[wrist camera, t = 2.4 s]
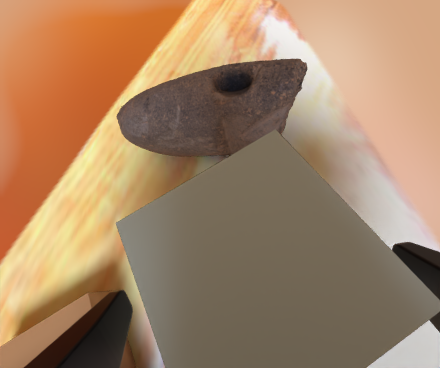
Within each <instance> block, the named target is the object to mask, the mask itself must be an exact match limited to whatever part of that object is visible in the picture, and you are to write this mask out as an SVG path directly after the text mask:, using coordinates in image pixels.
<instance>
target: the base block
mask: <svg viewBox="0 0 440 368" xmlns="http://www.w3.org/2000/svg"><path fill="white" fill-rule="evenodd" d="M110 292H111V291H103V292H89V293H86V294H85V295H83V296H82V297H80V298H78V299H77V300H75V301H73V302H72V303H70V304H69V305H67V306H65V307H64V308H62V309H61V310H59V311H57V312H56V313H54V314H52V315H51V316H49V317H48V318H46V319H44V320H43V321H41V322H39V323H38V324H36V325H35V326H33V327H31V328H30V329H28V330H26V331H25V332H23V333H22V334H20V335H18V336H17V337H15V338H14V339H12V340H10V341H9V342H7V343H5V344H4V345H2V346H1V347H0V368H24V367H25V366H26V365H27V364H28V363H29V362H31V361H32V360H33V359H34V358H35V357H36V356H37V355H39V354H40V353H41V352H42V351H43V350H44V349H45V348H47V347H48V346H49V345H50V344H51V343H52V342H53V341H55V340H56V339H57V338H58V337H59V336H60V335H61V334H63V333H64V332H65V331H66V330H67V329H68V328H70V327H71V326H72V325H73V324H74V323H75V322H76V321H78V320H79V319H80V318H81V317H82V316H83V315H84V314H86V313H87V312H88V311H89V310H90V309H91V308H92V307H94V306H95V305H96V304H97V303H98V302H99V301H100V300H102V299H103V298H104V297H105V296H106V295H107V294H108V293H110ZM120 368H136V365H135V362H134V358H133V355H132V352H131V348H130V345H129V341H128V338H127V340H126V344H125V349H124V353H123V357H122V361H121V365H120Z"/></svg>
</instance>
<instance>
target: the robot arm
mask: <svg viewBox="0 0 440 368" xmlns="http://www.w3.org/2000/svg"><path fill="white" fill-rule="evenodd" d="M392 251H393V252H394V253H395V254H396V255H397V256H398V257H399V258H400V259H401V261H402V262H403V263H404V264H405V265H406V266H407V267H408V268H409V269H410V270H411V271H412V272H413V273H414V274H415V275H416V276H417V277H418V278H419V279H420V280H421V281H422V282H423V283H424V284H425V286H426V287H427V288H428V289H429V290H430V291H431V292H432V293H433V294H434V295H435V296H436V297H437V298H438V299H439V300H440V252H438V251H435V250H432V249H429V248H426V247H423V246H420V245H417V244H414V243H411V242H403V243H397V244H394V246H393V248H392ZM132 312H133V309H132V305H131V303H130V301H129V299H128V297H127V294H126V292H125V291H124V290H116V291H111V292H110V293H108V294H107V295H106V296H105V297H104V298H103V299H102V300H100V301H99V302H98V303H97V304H96V305H95V306H94V307H92V308H91V309H90V310H89V311H88V312H87V313H86V314H84V315H83V316H82V317H81V318H80V319H79V320H78V321H76V322H75V323H74V324H73V325H72V326H71V327H70V328H68V329H67V330H66V331H65V332H64V333H63V334H61V335H60V336H59V337H58V338H57V339H56V340H55V341H53V342H52V343H51V344H50V345H49V346H48V347H47V348H45V349H44V350H43V351H42V352H41V353H40V354H39V355H37V356H36V357H35V358H34V359H33V360H32V361H31V362H29V363H28V364H27V365H26V366H25V367H24V368H120V365H121V361H122V357H123V353H124V349H125V344H126V340H127V335H128V331H129V327H130V322H131V318H132ZM429 320H430V321H431V323H432V324H433V325H434V326H435V327H436V329H437V330H438V331H439V332H440V312H439V313H437V314H436V315H435V316H433V317H432V318H431V319H429Z"/></svg>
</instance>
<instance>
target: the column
mask: <svg viewBox="0 0 440 368" xmlns="http://www.w3.org/2000/svg"><path fill="white" fill-rule="evenodd" d="M116 225H117V228H118V231H119V234H120V237H121V240H122V243H123V246H124V249H125V252H126V255H127V257H128V260H129V263H130V266H131V269H132V272H133V275H134V278H135V281H136V284H137V287H138V289H139V292H140V295H141V298H142V301H143V304H144V307H145V310H146V313H147V316H148V319H149V321H150V324H151V327H152V330H153V333H154V336H155V339H156V342H157V345H158V348H159V351H160V353H161V356H162V359H163V362H164V365H165V368H366V367H368V366H369V365H370V364H372V363H373V362H374V361H376V360H377V359H378V358H379V357H381V356H382V355H383V354H385V353H386V352H387V351H389V350H390V349H391V348H393V347H394V346H395V345H397V344H398V343H399V342H400V341H402V340H403V339H404V338H406V337H407V336H408V335H410V334H411V333H412V332H414V331H415V330H416V329H418V328H419V327H420V326H421V325H423V324H424V323H425V322H427V321H428V320H429V319H431V318H432V317H433V316H435V315H436V314H437V313H439V312H440V300H439V299H438V298H437V297H436V296H435V295H434V294H433V293H432V292H431V291H430V290H429V289H428V288H427V287H426V286H425V284H424V283H423V282H422V281H421V280H420V279H419V278H418V277H417V276H416V275H415V274H414V273H413V272H412V271H411V270H410V269H409V268H408V267H407V266H406V265H405V264H404V263H403V262H402V261H401V259H400V258H399V257H398V256H397V255H396V254H395V253H394V252H393V251H392V250H391V249H390V248H389V247H388V246H387V245H386V244H385V243H384V242H383V241H382V240H381V239H380V238H379V237H378V236H377V234H376V233H375V232H374V231H373V230H372V229H371V228H370V227H369V226H368V225H367V224H366V223H365V222H364V221H363V220H362V219H361V218H360V217H359V216H358V215H357V214H356V213H355V212H354V211H353V209H352V208H351V207H350V206H349V205H348V204H347V203H346V202H345V201H344V200H343V199H342V198H341V197H340V196H339V195H338V194H337V193H336V192H335V191H334V190H333V189H332V188H331V187H330V186H329V184H328V183H327V182H326V181H325V180H324V179H323V178H322V177H321V176H320V175H319V174H318V173H317V172H316V171H315V170H314V169H313V168H312V167H311V166H310V165H309V164H308V163H307V162H306V161H305V159H304V158H303V157H302V156H301V155H300V154H299V153H298V152H297V151H296V150H295V149H294V148H293V147H292V146H291V145H290V144H289V143H288V142H287V141H286V140H285V139H284V138H283V137H282V136H281V134H280V133H279V132H278V131H277V130H276V129H275V130H273V131H272V132H270V133H268V134H267V135H265V136H263V137H261V138H260V139H258V140H256V141H255V142H253V143H251V144H249V145H248V146H246V147H244V148H243V149H241V150H239V151H238V152H236V153H234V154H232V155H231V156H229V157H227V158H226V159H224V160H222V161H221V162H219V163H217V164H215V165H214V166H212V167H210V168H209V169H207V170H205V171H203V172H202V173H200V174H198V175H197V176H195V177H193V178H192V179H190V180H188V181H186V182H185V183H183V184H181V185H180V186H178V187H176V188H174V189H173V190H171V191H169V192H168V193H166V194H164V195H163V196H161V197H159V198H157V199H156V200H154V201H152V202H151V203H149V204H147V205H145V206H144V207H142V208H140V209H139V210H137V211H135V212H134V213H132V214H130V215H128V216H127V217H125V218H123V219H122V220H120V221H118V222H116Z"/></svg>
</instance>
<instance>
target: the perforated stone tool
mask: <svg viewBox="0 0 440 368" xmlns="http://www.w3.org/2000/svg"><path fill="white" fill-rule="evenodd" d="M306 71H307V64H306V63H304V62H302V61H301V59H280V60H271V61H254V62H244V63H236V64H228V65H223V66H220V67H215V68H211V69H208V70H203V71H199V72H195V73H192V74H189V75H186V76H182V77H180V78H177V79H174V80H170V81H168V82H165V83H162V84H159V85H157V86H155V87H152V88H150V89H148V90H145V91H143V92H142V93H140V94H138V95H136V96H135V97H133V98H132V99H130V100H129V101H128V102H127V103H126V104H125V105H124V106H123V107H122V108H121V109H120V111H119V113H118V114H117V119H118V123H119V125H120V129H121V132H122V134H123V135H124V137H125V138H126V139H127V140H129V141H130V142H131V143H133V144H135V145H137V146H139V147H141V148H143V149H146V150H149V151H152V152H156V153H159V154H165V155H173V156H208V155H232V154H234V153H236V152H238V151H239V150H241V149H243V148H244V147H246V146H248V145H249V144H251V143H253V142H255V141H256V140H258V139H260V138H261V137H263V136H265V135H267V134H268V133H270V132H272V131H273V130H275V129H276V130H277V131H278V132H279V133H280V134H281V133H282V132H283V130H284V128H285V125H286V119H287V117H288V113H289V110H290V109H291V107H292V106H293V102H294V100H295V97H296V95H297V93H298V92H299V91H300V90H301V89H302V87H301V86H302V82H303V79H304V76H305V75H306Z"/></svg>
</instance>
